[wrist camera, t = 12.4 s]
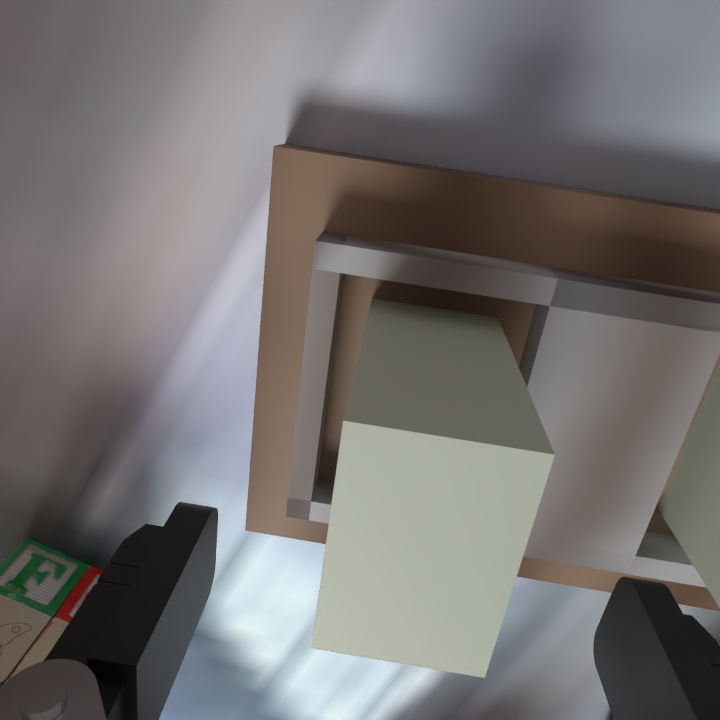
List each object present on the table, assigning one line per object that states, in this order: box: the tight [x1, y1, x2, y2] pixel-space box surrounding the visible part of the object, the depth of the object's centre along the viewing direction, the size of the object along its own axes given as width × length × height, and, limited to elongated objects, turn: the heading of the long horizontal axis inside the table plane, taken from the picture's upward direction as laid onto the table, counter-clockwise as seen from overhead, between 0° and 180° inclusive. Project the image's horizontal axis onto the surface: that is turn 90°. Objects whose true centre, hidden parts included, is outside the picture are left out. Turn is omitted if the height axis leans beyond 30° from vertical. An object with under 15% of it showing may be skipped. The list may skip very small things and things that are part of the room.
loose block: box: [311, 298, 555, 678], centre depth 16 cm, size 4×6×8 cm, turn 172°
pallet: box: [245, 144, 720, 611], centre depth 19 cm, size 22×14×3 cm, turn 82°
